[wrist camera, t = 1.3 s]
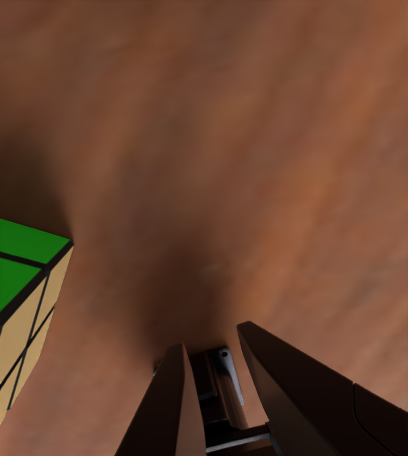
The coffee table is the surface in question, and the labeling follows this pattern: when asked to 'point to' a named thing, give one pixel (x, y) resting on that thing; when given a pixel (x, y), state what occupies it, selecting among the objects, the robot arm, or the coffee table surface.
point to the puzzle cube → (26, 300)
